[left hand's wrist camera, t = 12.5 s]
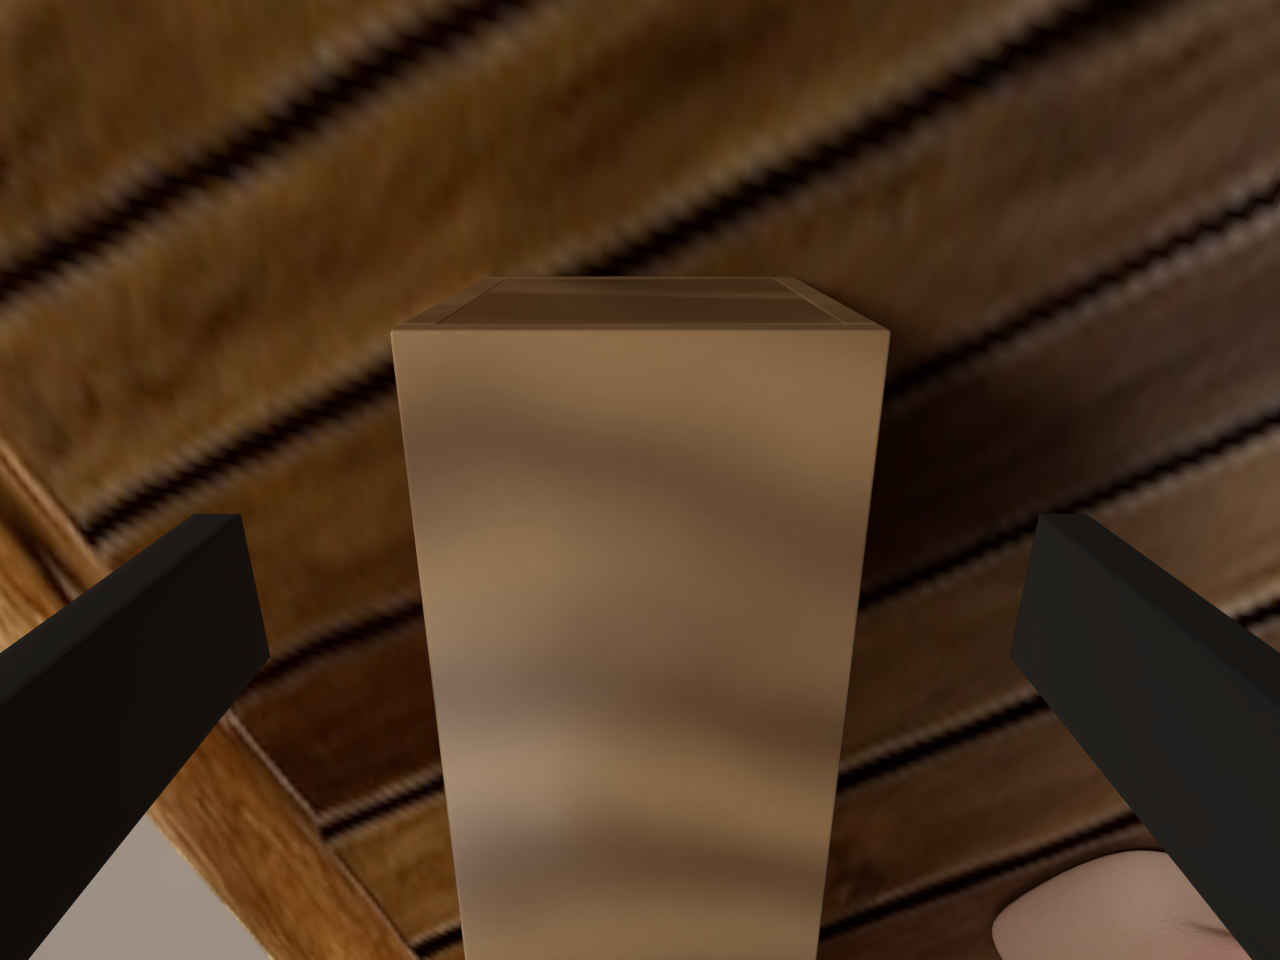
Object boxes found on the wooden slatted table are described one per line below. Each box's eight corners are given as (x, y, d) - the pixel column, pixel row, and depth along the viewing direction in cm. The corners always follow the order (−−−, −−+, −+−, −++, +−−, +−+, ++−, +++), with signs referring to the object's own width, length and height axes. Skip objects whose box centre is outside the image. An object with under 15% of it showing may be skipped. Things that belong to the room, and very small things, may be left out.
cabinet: (761, 736, 33) (814, 976, 23) (519, 736, 33) (466, 977, 23) (793, 276, 26) (892, 330, 16) (486, 276, 26) (388, 330, 16)
